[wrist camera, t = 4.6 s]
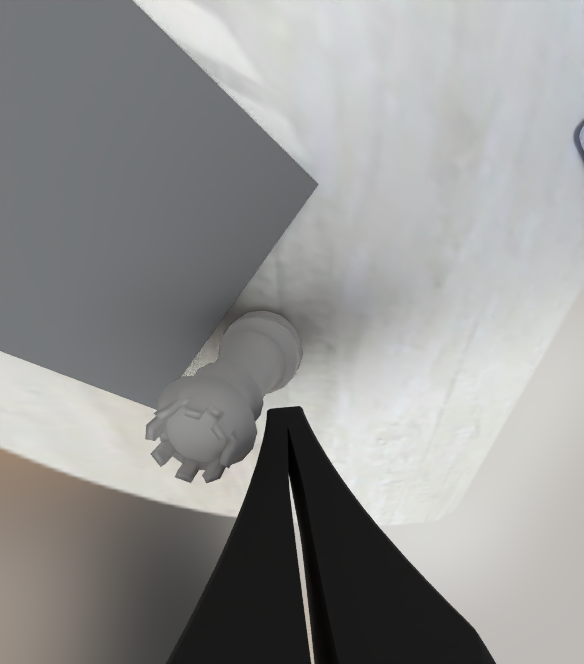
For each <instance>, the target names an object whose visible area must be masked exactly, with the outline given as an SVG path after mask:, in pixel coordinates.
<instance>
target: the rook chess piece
mask: <svg viewBox="0 0 584 664" xmlns="http://www.w3.org/2000/svg"><path fill="white" fill-rule="evenodd" d="M218 354H219V358H218V360H217V361H216V362H215V363H209V364H208V365H206V366H204V367H202V368H200V369H199V370H198V371H197V372H196V374H195V375H194V376H185V377H181V378H179V379H178V380H176V381H174V382H172V383H170V384H168V385H167V386H166V388H165V389H164V391H163V393H162V394H161V396H160V397H159V399H158V408H157V411H156V412H155V413H154V414H155V415H156V417H155V418H154V419H153V420H151V421H150V422H149V423H148V424H147V425H146V438H145V439H148V440H153V441H155V440H156V439H157V438H158V437H160V440H161V443H160V444H159V445H158V446H157V447H156V449H155V450H154V451H153V452H152V453H151V455H152V456H153V458H154V459H155V460H156V462H157V463H158V464H159V465H160V467H162V466H163V465H164V464H166V463H167V462H168V460H169V459H170V458H171V457H172V456H173V457H174V458H176V459H177V460H179V461H180V462H181V463H183V464H182V465H181V467H180V468H179V469H178V471H177V473H176V476H175V477H176V478H179V479H181V480H184V481H187V482H190V483H191V482H192V480H193V479H194V477H195V475H196V474H197V472H198V471H199V470H205V472H204V473H203V475H202V476H203V478H204V479H205V481H206V483H209V482H212V481H214V480H217V479H220V477H221V476H222V474H223V472H224V470H225V468H226V467H227V468H230V466H231V465H232V464H234V463H237V462H240V461H242V460H243V459H244V458H245V457H246V456H247V454H248V453H249V452H250V451H251V450H252V449H253V446H254V442H255V439H256V435H257V429H256V424H255V421H256V420H257V419H258V418H259V416H260V415H261V411H262V407H263V397H264V396H265V395H266V394H268V393H272V392H274V391H276V390H278V389H281V388H283V387H284V386H285V385H287V383H288V382H289V381H290V380H291V379H292V378H293V376H294V375H295V374H296V371H297V369H298V368H299V366H300V362H301V359H302V355H303V351H302V343H301V338H300V337H299V335H298V333H297V331H296V330H295V328H294V326H293V325H292V324H291V323H290V322H288V321H287V320H286V319H284V318H283V317H282V316H281V315H278V314H275V313H272V312H268V311H265V310H263V311H254V312H248V313H246V314H244V315H243V316H241V317H239V318H238V319H236V320H235V322H234V323H232V324H230V326H229V327H228V329H227V330H226V332H225V333H224V335H223V336H222V338H221V342H220V348H219V353H218Z"/></svg>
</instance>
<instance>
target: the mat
mask: <svg viewBox="0 0 584 664" xmlns="http://www.w3.org/2000/svg"><path fill="white" fill-rule="evenodd" d="M317 186H318V183H317V182H316V181H315V180H314V179H313V178H312V177H311V176H309V175H308V174H307V173H306V172H305V171H304V170H303V169H302V168H301V167H300V166H299V165H298V164H297V163H296V162H295V161H294V160H293V159H292V158H291V157H290V156H289V155H288V154H287V153H286V152H285V151H284V150H283V149H282V148H281V147H280V146H279V145H278V144H277V143H276V142H275V141H274V140H273V139H272V138H271V137H270V136H269V135H268V134H267V133H266V132H265V131H264V130H263V129H262V128H261V127H260V126H259V125H258V124H257V123H256V122H255V121H254V120H253V119H252V118H251V117H250V116H249V115H248V114H247V113H246V112H245V111H244V110H243V109H242V108H241V107H240V106H239V105H238V104H237V103H236V102H235V101H234V100H233V99H232V98H231V97H230V96H229V95H228V94H227V93H226V92H225V91H224V90H222V89H221V88H220V87H219V86H218V85H217V84H216V83H215V82H214V81H213V80H212V79H211V78H210V77H209V76H208V75H207V74H206V73H205V72H204V71H203V70H202V69H201V68H200V67H199V66H198V65H197V64H196V63H195V62H194V61H193V60H192V59H191V58H190V57H189V56H188V55H187V54H186V53H185V52H184V51H183V50H182V49H181V48H180V47H179V46H178V45H177V44H176V43H175V42H174V41H173V40H172V39H171V38H170V37H169V36H168V35H167V34H166V33H165V32H164V31H163V30H162V29H161V28H160V27H159V26H158V25H157V24H156V23H155V22H154V21H153V20H152V19H151V18H150V17H149V16H148V15H147V14H146V13H145V12H144V11H143V10H142V9H141V8H140V7H139V6H138V5H137V4H135V3H134V2H133V1H132V0H0V351H2V352H4V353H7V354H10V355H12V356H15V357H18V358H20V359H23V360H26V361H28V362H31V363H34V364H36V365H39V366H42V367H44V368H47V369H50V370H52V371H55V372H58V373H60V374H63V375H66V376H68V377H71V378H74V379H76V380H79V381H82V382H84V383H87V384H89V385H92V386H95V387H97V388H100V389H103V390H105V391H108V392H111V393H113V394H116V395H119V396H121V397H124V398H127V399H129V400H132V401H135V402H137V403H140V404H143V405H145V406H148V407H151V408H153V409H156V410H157V408H158V399H159V397H160V396H161V394H162V393H163V391H164V389H165V388H166V386H167V385H168V384H170V383H172V382H174V381H176V380H178V379H179V378H180V377H181V376H182V374H183V373H184V372H185V370H186V369H187V367H188V366H189V365H190V363H191V362H192V360H193V359H194V358H195V356H196V355H197V353H198V352H199V351H200V349H201V348H202V346H203V345H204V344H205V342H206V341H207V339H208V338H209V337H210V335H211V334H212V332H213V331H214V330H215V328H216V327H217V325H218V324H219V323H220V321H221V320H222V318H223V317H224V316H225V314H226V313H227V311H228V310H229V309H230V307H231V306H232V304H233V303H234V302H235V300H236V299H237V297H238V296H239V295H240V293H241V292H242V290H243V289H244V288H245V286H246V285H247V283H248V282H249V281H250V279H251V278H252V276H253V275H254V274H255V272H256V271H257V269H258V268H259V267H260V265H261V264H262V262H263V261H264V260H265V258H266V257H267V255H268V254H269V253H270V251H271V250H272V248H273V247H274V246H275V244H276V243H277V242H278V240H279V239H280V237H281V236H282V235H283V233H284V232H285V230H286V229H287V228H288V226H289V225H290V223H291V222H292V221H293V219H294V218H295V216H296V215H297V214H298V212H299V211H300V209H301V208H302V207H303V205H304V204H305V202H306V201H307V200H308V198H309V197H310V195H311V194H312V193H313V191H314V190H315V188H316V187H317Z"/></svg>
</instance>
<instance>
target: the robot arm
mask: <svg viewBox="0 0 584 664" xmlns="http://www.w3.org/2000/svg"><path fill="white" fill-rule="evenodd" d="M579 139H580V142H581V145H582V147H583V150H584V126H583V127H582V129H581V131H580V135H579ZM289 477H290V483H291V488H292V493H293V499H294V504H295V509H296V515H297V520H298V526H299V531H300V537H301V544H302V552H303V561H304V569H305V579H306V588H307V597H308V606H309V615H310V624H311V634H312V643H313V653H314V662H315V664H496V663H495V661H494V659H493V658H492V656H491V654H490V653H489V651H488V650H487V648H486V646H485V644H484V643H483V641H482V640H481V638H480V636H479V635H478V633H477V632H476V630H475V629H474V628H473V627H472V626H471V625H470V624H469V623H468V622H467V621H466V620H465V619H464V618H463V617H462V616H461V615H460V614H459V613H458V612H457V611H456V610H455V609H454V608H453V607H452V606H451V605H450V604H449V603H448V602H447V601H446V600H445V599H444V598H443V596H442V595H441V594H439V592H438V591H437V590H436V589H435V588H434V587H433V586H432V585H431V584H430V583H429V582H428V581H427V580H426V579H425V578H424V577H423V576H422V575H421V574H420V573H419V571H418V570H417V569H416V568H415V567H414V566H413V565H412V564H411V563H410V562H409V561H408V560H407V559H406V558H405V556H404V555H403V554H402V553H401V552H400V551H399V550H398V548H397V547H396V546H395V545H394V544H393V543H392V541H391V540H390V539H389V538H388V537H387V536H386V535H385V534H384V532H383V531H382V530H381V529H380V528H379V527H378V525H377V524H376V523H375V522H374V520H373V519H372V518H371V517H370V515H369V514H368V513H367V512H366V510H365V509H364V508H363V507H362V505H361V504H360V503H359V501H358V500H357V499H356V498H355V496H354V495H353V494H352V492H351V491H350V489H349V488H348V487H347V485H346V484H345V482H344V481H343V480H342V478H341V477H340V475H339V474H338V472H337V471H336V469H335V468H334V466H333V465H332V463H331V462H330V460H329V459H328V457H327V455H326V454H325V452H324V450H323V449H322V447H321V445H320V444H319V442H318V440H317V438H316V436H315V435H314V433H313V431H312V429H311V427H310V425H309V423H308V421H307V419H306V416H305V414H304V412H303V409H302V408H301V407H300V406H295V407H284V408H274V409H269V410H268V411H267V420H266V427H265V432H264V437H263V442H262V445H261V449H260V453H259V457H258V460H257V464H256V467H255V470H254V473H253V476H252V479H251V482H250V485H249V488H248V491H247V494H246V496H245V499H244V502H243V504H242V507H241V509H240V512H239V514H238V517H237V519H236V522H235V524H234V527H233V529H232V531H231V534H230V536H229V538H228V540H227V543H226V545H225V547H224V550H223V552H222V554H221V556H220V558H219V560H218V563H217V565H216V567H215V569H214V571H213V573H212V575H211V577H210V579H209V581H208V583H207V585H206V587H205V590H204V591H203V593H202V596H201V598H200V600H199V601H198V604H197V606H196V608H195V610H194V612H193V614H192V615H191V617H190V619H189V621H188V623H187V625H186V627H185V629H184V631H183V633H182V635H181V636H180V638H179V640H178V642H177V644H176V646H175V648H174V649H173V651H172V653H171V655H170V657H169V659H168V661H167V662H166V664H311V660H310V652H309V644H308V637H307V629H306V621H305V613H304V605H303V598H302V590H301V582H300V574H299V567H298V558H297V550H296V543H295V533H294V525H293V517H292V508H291V500H290V491H289Z"/></svg>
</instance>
